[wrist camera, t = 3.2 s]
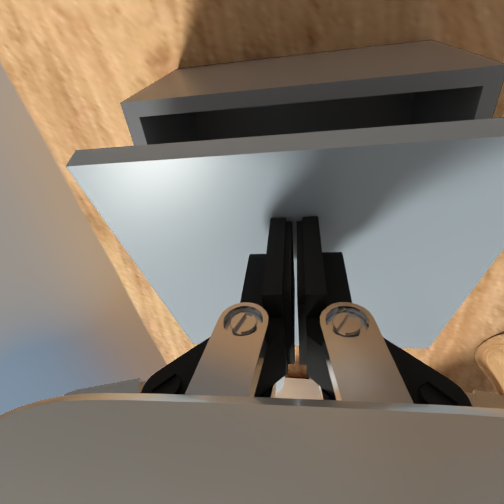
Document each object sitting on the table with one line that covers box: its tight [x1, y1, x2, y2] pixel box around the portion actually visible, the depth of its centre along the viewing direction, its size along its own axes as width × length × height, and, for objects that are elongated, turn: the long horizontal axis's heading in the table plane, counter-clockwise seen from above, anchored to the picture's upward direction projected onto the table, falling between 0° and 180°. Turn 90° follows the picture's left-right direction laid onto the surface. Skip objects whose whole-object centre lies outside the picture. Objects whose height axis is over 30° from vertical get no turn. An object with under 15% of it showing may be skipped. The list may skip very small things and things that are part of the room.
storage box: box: [120, 40, 504, 146], centre depth 20 cm, size 14×14×8 cm
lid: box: [66, 117, 504, 348], centre depth 15 cm, size 14×14×1 cm
